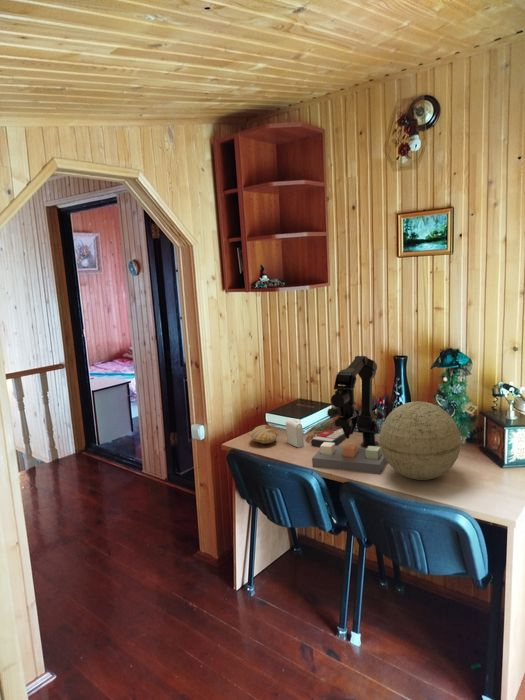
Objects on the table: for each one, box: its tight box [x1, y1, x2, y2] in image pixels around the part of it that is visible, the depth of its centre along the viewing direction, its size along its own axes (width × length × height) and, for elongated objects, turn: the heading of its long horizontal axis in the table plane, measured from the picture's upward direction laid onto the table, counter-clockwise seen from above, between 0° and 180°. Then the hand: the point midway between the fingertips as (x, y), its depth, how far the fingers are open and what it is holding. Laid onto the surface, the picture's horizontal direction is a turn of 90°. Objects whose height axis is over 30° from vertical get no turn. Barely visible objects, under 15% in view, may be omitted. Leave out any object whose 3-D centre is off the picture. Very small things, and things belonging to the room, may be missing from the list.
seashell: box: [249, 422, 278, 445], centre depth 257 cm, size 8×22×15 cm
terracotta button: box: [343, 443, 358, 457], centre depth 220 cm, size 5×5×5 cm
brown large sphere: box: [379, 401, 462, 481], centre depth 200 cm, size 30×30×30 cm
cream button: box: [319, 442, 335, 455], centre depth 225 cm, size 5×5×5 cm
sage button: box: [366, 445, 381, 460], centre depth 216 cm, size 5×5×5 cm
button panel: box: [311, 445, 388, 475], centre depth 221 cm, size 16×29×4 cm, turn 64°
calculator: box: [310, 429, 346, 448], centre depth 248 cm, size 11×4×15 cm
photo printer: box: [285, 418, 305, 448], centre depth 248 cm, size 10×4×12 cm, turn 29°
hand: (349, 436), depth 219 cm, fingers open, 5 cm apart
